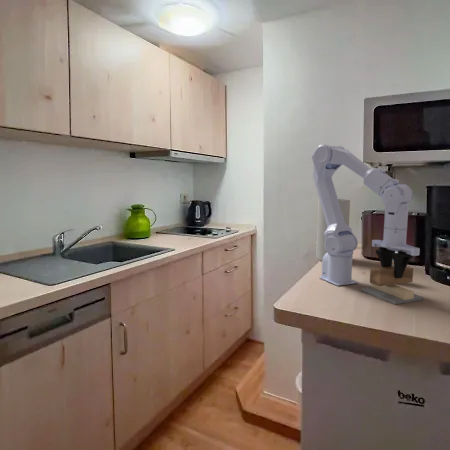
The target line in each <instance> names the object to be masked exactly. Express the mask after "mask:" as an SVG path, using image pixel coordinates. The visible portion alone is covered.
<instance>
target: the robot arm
mask: <svg viewBox="0 0 450 450" xmlns="http://www.w3.org/2000/svg"><path fill="white" fill-rule="evenodd" d="M311 159H312V163H313V169H312V170H313V172H312V173H313V174H312V178H313V180H314V181H313V182H314V185H315V188H316V191H317V194H318V199H320V202H321V206H322V209H323V213H324V216H325V220H326V223H327V227H328V228H327V229H326V231H325V233H324V236H325V249H326V251H327V252H328V253H326V254H325V255H324V256H323V259H322V261H321V262H322V263H321V276H319V279H322V281H326V282H327V283H330V284H333V285H335V286H344V285H346V286H347V285H354V284H358V283H359V282H358V280H357V281H356V280H355V279H352V278H353V277H352V276H353V275H352V274H353V255H354V251H355V250H356V249H357V248H358V245H359V243H358V242H359V241H358V238H357V237H356V235H355V234H354V233H353V231H352V228H351V227H350V225H349V226H348V225H347V224H346V223H345V222H344V218H343V215H342V211H341V208H340V205H339V201H338V199H339V198H338V196H337V192H336V188H335V185H334V181H333V175H334V174H335V173H336V172H337V171H338V170H339V169H340V168H341V166H344V167H346V168H347V169H349V170H350V171H352V172H354V173H355V174H356V175H358V176H359V177H361V178H362V179H363V185H364V186H366V187H367V188H369V189H370V190H372V192H374V193H375V194H377V195H378V196H379V197H381V202H383V204H384V221H383V238H382V240H381V239H372V240H371V247H373V248H376V247H377V248H378V249H375V254H376V256H377V257H378V260H379V263H380V266H381V268H382V267H392V260H393V261H394V277H395V278H402V276H403V273H404V271H405V268H406V266H407V267H408V265H409V262H410V261H411V260H412V258H413V257H416V256H420V252H421V251H420V250H421V249H420V247H415V246H413V245H410V244H407V235H408V233H407V232H408V220H409V219H408V218H409V203H411V202H412V200H413V198H414V191H413V189H412V188H411V187H410V186H409V185H408V184H406V183H399V182H400V180H399V179H398V178H395V179H394V178H393V177H391V176H390V175H388V174H387V173H386V172H387V170H385V169H384V168H378V167H375V168H372V167H369V166H368V165H367V164H366V163H365V162H363V161H362V160H360V158H359V157H357V156H356V155H354V154H353V153H352V152H351V151H350V150H349V149H346V148H344V146H341V145H337V146H335V145H328V144H326V143H325V144H322V143H321V144H319V145H317V146H316V148H315V150H314V152H313V154H312V155H311ZM395 251H396V252H398V253H395Z"/></svg>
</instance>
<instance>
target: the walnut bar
mask: <svg viewBox="0 0 450 450" xmlns="http://www.w3.org/2000/svg"><path fill="white" fill-rule="evenodd" d="M413 277H414V267H412V266H408V265H407V266H406V268H405V271H404V273H403V276H402V278H395V277H394V266H392V267H382V266H381V267H375V268H370V271H369V283H370V284H371V283H372V284H375V285H377V286H385V285H392V284H394V285H399V284H407V283H413V282H414V281H413V280H414V279H413Z"/></svg>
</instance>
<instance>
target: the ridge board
mask: <svg viewBox="0 0 450 450" xmlns="http://www.w3.org/2000/svg"><path fill="white" fill-rule="evenodd" d="M370 284H371V286H369V287H368V286H367V287H362V288H361V292H364V293H365V294H369V295H372V297H373V296H374V297H375V298H378V299H381V300H383V301H386V302H388V303H390V304H393V305H401V304H405V303H412V302H418V301H419V302H420V301H423V300H424V296H421V295H418V294H415V291H414V290H411V289H408V288H405V287H402V286H399V285H398V284H392V285H385V286H377V285H375V284H372V283H370Z"/></svg>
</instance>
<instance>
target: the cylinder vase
mask: <svg viewBox="0 0 450 450" xmlns="http://www.w3.org/2000/svg"><path fill="white" fill-rule="evenodd" d="M338 201H339V205H340V208H341V211H342V215H343V218H344V222H345V223H346V224H347V225H348V226H349V227H350V211H351V209H350V208H351V199H347V198H338ZM327 228H328V227H327V223H326V220H325V216H324V213H323V209H322V206H321V202H320V199H319V198H318V199H317V217H316V244H315V246H316V248H315V252H316V253H315V258H316V259H317V260H319V261H321V262H322V259H323V256H324V255H325V254H326V253H328V252H327V251H326V249H325V236H324V233H325V231H326V229H327Z"/></svg>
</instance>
